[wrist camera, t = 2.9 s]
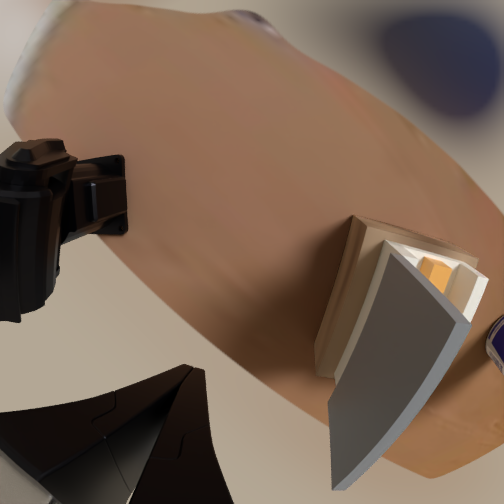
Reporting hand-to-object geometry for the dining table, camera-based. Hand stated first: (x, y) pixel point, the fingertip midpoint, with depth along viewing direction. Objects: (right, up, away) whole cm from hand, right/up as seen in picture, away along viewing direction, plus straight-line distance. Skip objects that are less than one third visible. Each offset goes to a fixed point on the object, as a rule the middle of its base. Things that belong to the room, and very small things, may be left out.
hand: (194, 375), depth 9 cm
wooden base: (+13, +1, +10) cm, 16 cm away
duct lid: (+8, -1, +1) cm, 8 cm away
